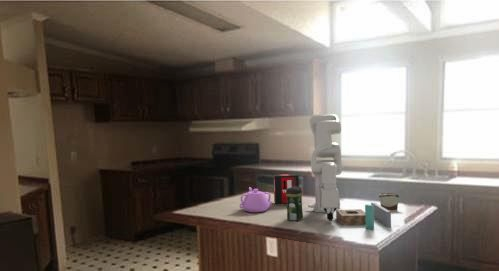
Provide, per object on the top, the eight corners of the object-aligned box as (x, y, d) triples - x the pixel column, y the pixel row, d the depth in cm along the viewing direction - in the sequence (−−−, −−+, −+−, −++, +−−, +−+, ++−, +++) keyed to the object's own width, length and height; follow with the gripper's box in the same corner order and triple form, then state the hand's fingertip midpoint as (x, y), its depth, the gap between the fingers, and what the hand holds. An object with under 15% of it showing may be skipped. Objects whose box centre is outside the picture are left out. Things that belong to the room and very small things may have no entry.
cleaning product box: (297, 201, 246) (296, 173, 246) (299, 204, 237) (298, 175, 237) (274, 202, 246) (273, 174, 246) (275, 205, 237) (274, 176, 237)
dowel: (367, 230, 170) (366, 206, 170) (364, 228, 174) (364, 204, 174) (375, 230, 170) (374, 205, 170) (372, 228, 174) (371, 204, 174)
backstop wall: (387, 227, 174) (386, 211, 174) (371, 216, 198) (371, 202, 198) (391, 227, 174) (390, 211, 174) (375, 216, 198) (374, 202, 198)
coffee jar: (291, 216, 202) (291, 185, 202) (304, 218, 198) (303, 185, 198) (284, 220, 194) (284, 187, 194) (297, 222, 190) (297, 188, 190)
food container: (396, 208, 217) (396, 192, 217) (399, 210, 211) (399, 194, 211) (376, 208, 218) (376, 192, 218) (379, 210, 212) (378, 194, 212)
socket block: (342, 225, 180) (342, 215, 180) (336, 218, 194) (336, 209, 194) (369, 224, 179) (369, 215, 179) (361, 218, 193) (361, 209, 193)
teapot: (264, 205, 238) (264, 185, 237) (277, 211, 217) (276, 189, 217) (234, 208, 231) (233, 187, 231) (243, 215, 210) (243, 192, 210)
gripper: (316, 187, 183) (317, 222, 183) (344, 187, 183) (345, 221, 183) (314, 185, 191) (315, 218, 191) (341, 185, 190) (342, 218, 190)
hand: (330, 220), depth 187 cm, fingers closed
